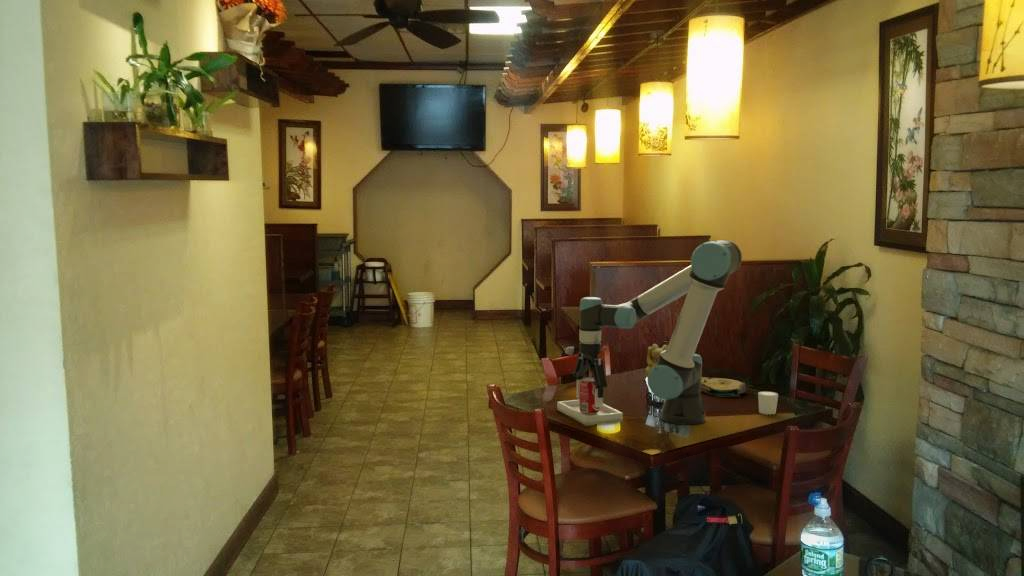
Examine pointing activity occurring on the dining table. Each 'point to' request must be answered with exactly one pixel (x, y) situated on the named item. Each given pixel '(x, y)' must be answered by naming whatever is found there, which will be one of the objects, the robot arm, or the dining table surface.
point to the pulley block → (722, 387)
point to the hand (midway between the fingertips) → (589, 402)
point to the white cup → (767, 402)
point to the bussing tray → (603, 416)
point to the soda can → (587, 396)
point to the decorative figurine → (653, 356)
